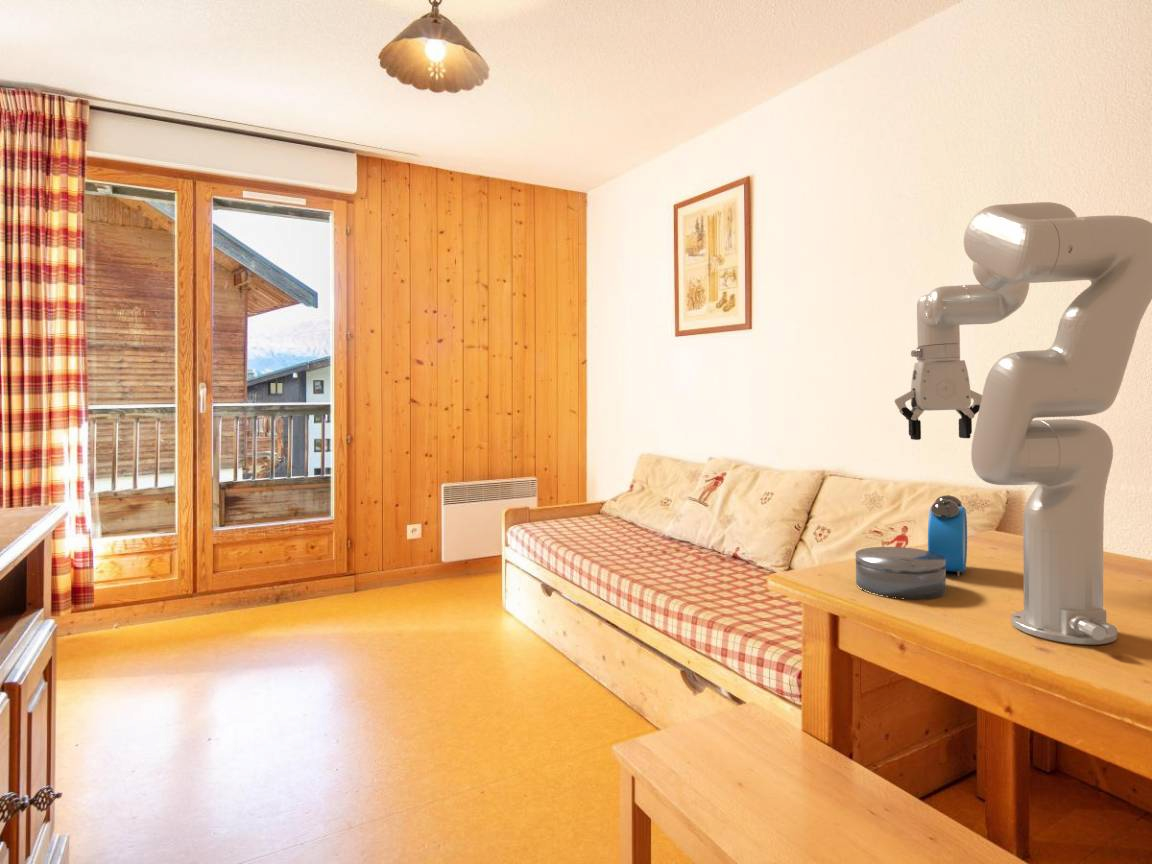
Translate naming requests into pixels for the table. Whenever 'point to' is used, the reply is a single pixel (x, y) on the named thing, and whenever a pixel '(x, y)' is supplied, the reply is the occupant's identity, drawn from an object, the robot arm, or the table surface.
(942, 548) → the alarm clock
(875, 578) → the round tin
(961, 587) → the table surface
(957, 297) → the robot arm
